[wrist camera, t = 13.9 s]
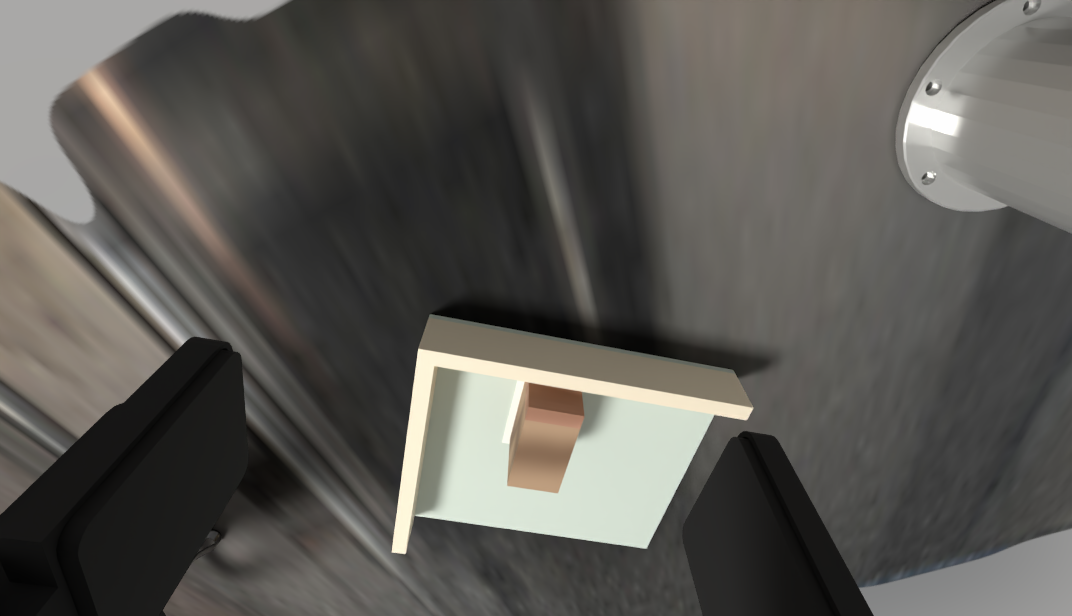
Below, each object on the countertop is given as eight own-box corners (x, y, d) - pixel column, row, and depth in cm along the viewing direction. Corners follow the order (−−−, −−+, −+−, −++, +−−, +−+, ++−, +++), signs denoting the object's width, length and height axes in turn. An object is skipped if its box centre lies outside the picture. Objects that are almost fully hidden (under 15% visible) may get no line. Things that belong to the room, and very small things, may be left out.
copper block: (555, 446, 45) (558, 493, 41) (509, 438, 45) (506, 485, 41) (579, 372, 41) (584, 416, 37) (529, 363, 41) (528, 406, 37)
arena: (733, 370, 42) (753, 407, 38) (645, 544, 53) (654, 587, 49) (430, 314, 39) (418, 348, 36) (402, 509, 50) (391, 552, 46)
